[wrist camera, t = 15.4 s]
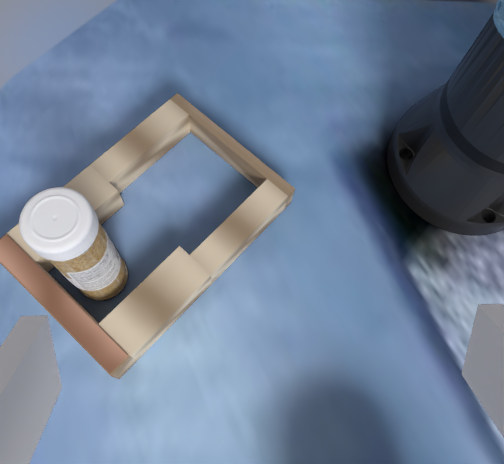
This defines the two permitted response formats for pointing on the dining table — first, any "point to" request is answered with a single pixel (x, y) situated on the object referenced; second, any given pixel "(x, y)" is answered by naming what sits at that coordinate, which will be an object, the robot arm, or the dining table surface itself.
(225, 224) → the light wood rectangular frame
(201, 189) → the dining table surface
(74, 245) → the sprinkles bottle
